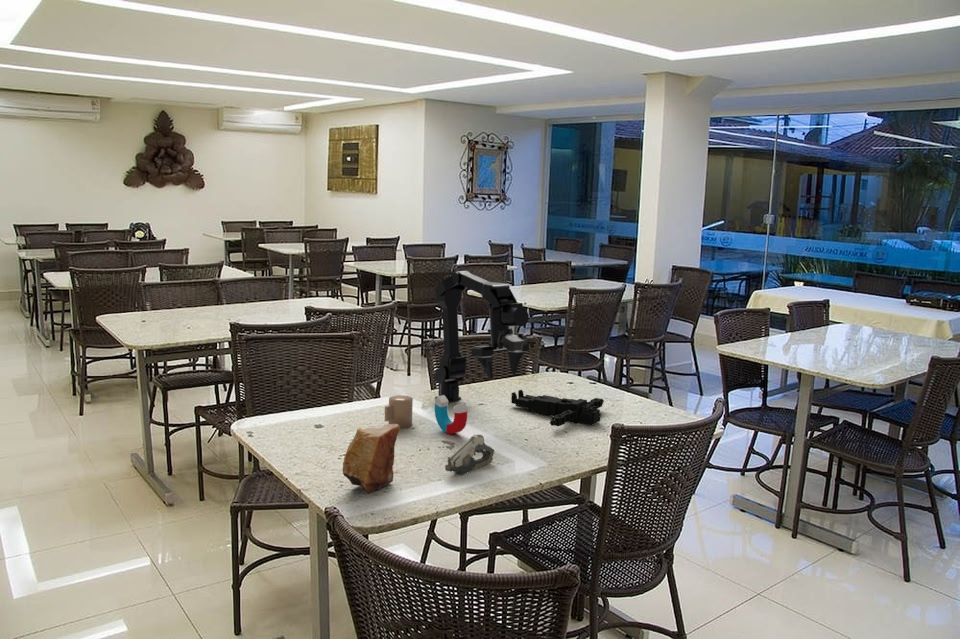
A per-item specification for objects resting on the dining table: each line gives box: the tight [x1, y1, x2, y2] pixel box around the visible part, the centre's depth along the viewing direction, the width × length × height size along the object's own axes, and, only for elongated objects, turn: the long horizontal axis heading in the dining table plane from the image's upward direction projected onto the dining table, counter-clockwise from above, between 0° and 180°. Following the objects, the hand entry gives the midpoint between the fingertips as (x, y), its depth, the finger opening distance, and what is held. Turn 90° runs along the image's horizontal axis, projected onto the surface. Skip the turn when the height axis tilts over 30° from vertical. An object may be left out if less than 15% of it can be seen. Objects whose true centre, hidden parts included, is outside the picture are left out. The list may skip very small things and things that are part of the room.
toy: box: [510, 389, 605, 427], centre depth 232 cm, size 31×6×30 cm
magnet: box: [434, 395, 468, 435], centre depth 211 cm, size 12×3×10 cm, turn 42°
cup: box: [384, 394, 414, 429], centre depth 216 cm, size 7×9×8 cm
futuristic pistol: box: [444, 433, 495, 475], centre depth 185 cm, size 2×15×10 cm, turn 134°
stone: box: [342, 423, 401, 493], centre depth 171 cm, size 14×9×15 cm, turn 130°
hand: (502, 376), depth 221 cm, fingers open, 9 cm apart
